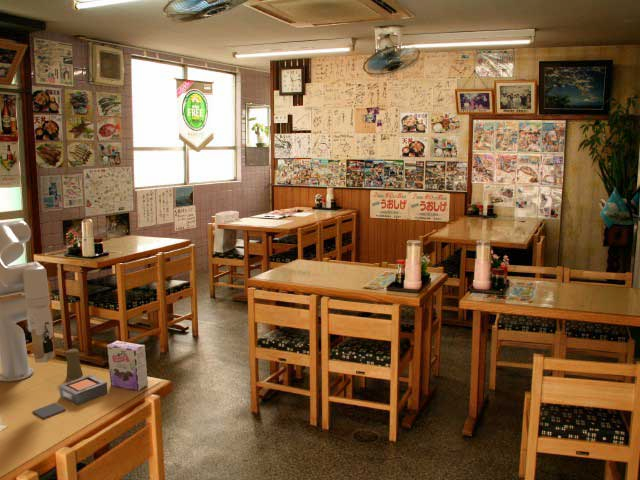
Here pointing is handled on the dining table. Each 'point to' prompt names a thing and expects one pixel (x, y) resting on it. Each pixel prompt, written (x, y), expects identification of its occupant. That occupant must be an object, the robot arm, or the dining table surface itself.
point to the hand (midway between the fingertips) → (43, 349)
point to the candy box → (127, 365)
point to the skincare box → (40, 348)
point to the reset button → (82, 385)
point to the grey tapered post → (73, 364)
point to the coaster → (49, 410)
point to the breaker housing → (83, 391)
